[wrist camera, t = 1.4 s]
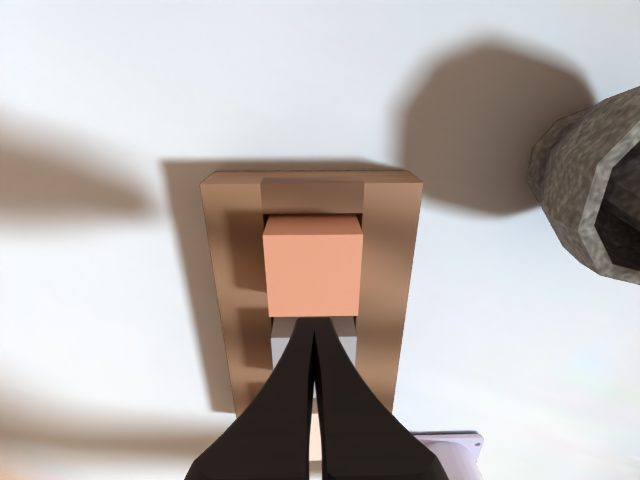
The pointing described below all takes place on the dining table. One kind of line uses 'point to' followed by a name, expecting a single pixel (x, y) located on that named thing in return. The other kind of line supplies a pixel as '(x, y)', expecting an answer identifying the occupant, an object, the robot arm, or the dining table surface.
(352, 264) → the terracotta key
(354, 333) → the slate key
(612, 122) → the mortar and pestle
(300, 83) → the dining table surface
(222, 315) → the key block
